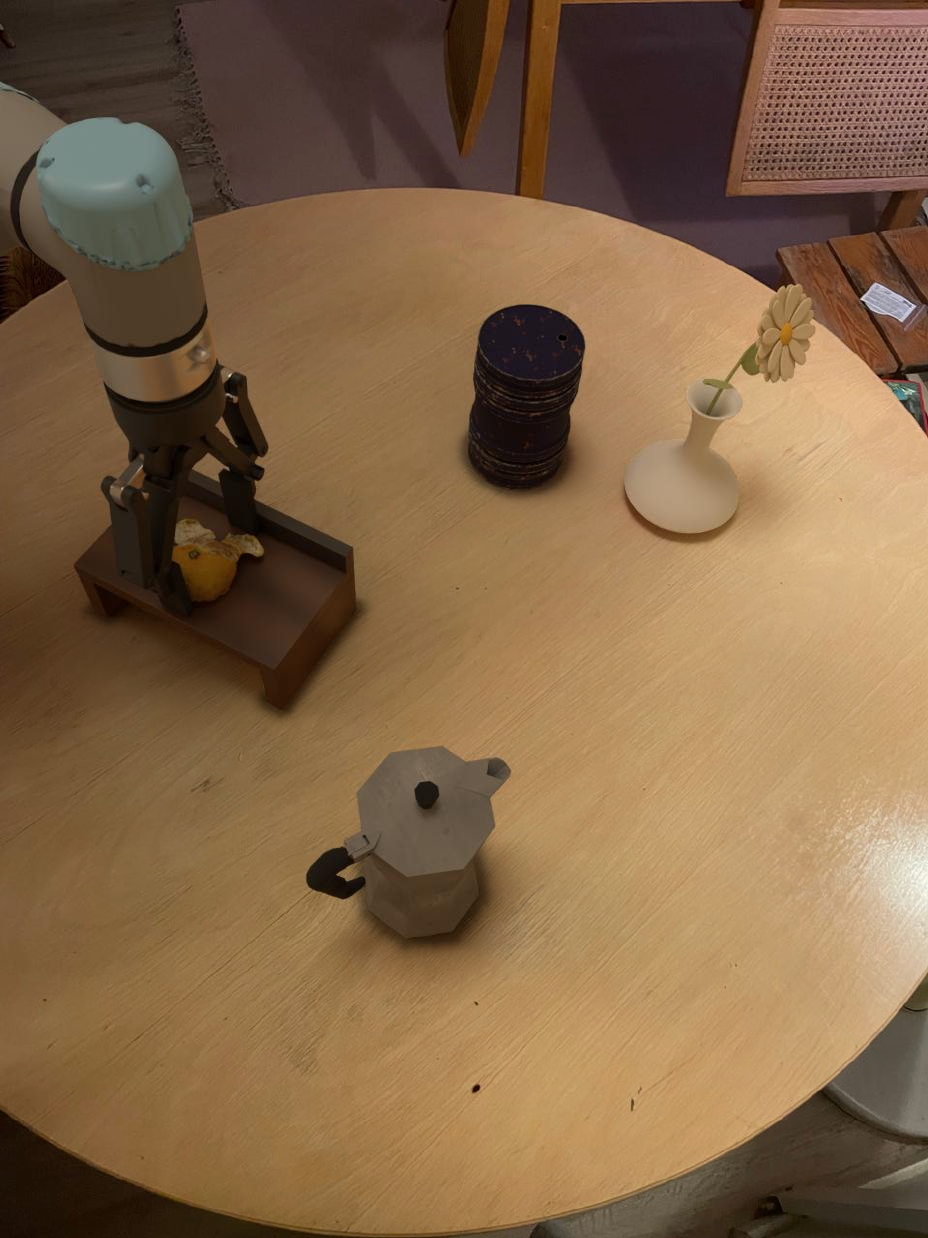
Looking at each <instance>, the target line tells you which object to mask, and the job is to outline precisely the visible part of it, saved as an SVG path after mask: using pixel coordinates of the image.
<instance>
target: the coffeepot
mask: <svg viewBox="0 0 928 1238" xmlns="http://www.w3.org/2000/svg"><path fill="white" fill-rule="evenodd" d="M511 772H512V770H511V768H510V766H509V765H508V763H507V762H506V761H505V760H503V759H502V758H500V757H497V756H495V757H486V758H480V759H475V760H469V761H468V760H467V761H466V760H465V759H463V758H462V757H460V756H458V755H457V754H456V753H454V752H453V751H451V750H450V749H448V748H447V747H445V746H444V745H436V746H429V747H421V748H413V749H406V750H399V751H390V752H389V753H388V754H387V755H386V756H385V758H384V759H383V760H382V761H381V763H379V765H378V766H377V767H376V768H375V769H374V771H373V772H372V773H371V774H370V775H369V777H368V778H367V779H366V781H365V782H364V783H363V784H362V785H361V786H360V788H359V789H358V790H357V791H356V799H357V807H358V808H357V809H358V817H359V824H360V830H359V831H358V832H356V833H354V834H353V835H351V836H349V837H347V838H345V839H343V845H342V846H339V847H333V848H331V849H328V850H326V851H325V852H323V853H322V854H321V855H320V856H319V857H318V858H317V859H316V860H315V861H314V862H313V863H312V864H311V865H310V866H309V868H308V870H307V872H306V874H305V881H306V884H307V887H308V888H309V889H311V890H313V891H315V892H318V893H322V894H324V895H327V896H330V897H334V898H337V899H339V900H347V899H349V898H351V897H352V896H354V895H356V893H358V892H359V891H360V890H361V889H363V888H364V887H365V893H366V902H367V903H366V904H367V911H368V912H370V913H371V914H372V915H374V916H375V917H376V918H377V919H378V920H379V921H381V922H382V923H383V924H385V925H386V926H387V927H389V928H390V929H392V930H393V931H394V932H395V933H398V934H399V935H400V936H401V937H403V938H404V939H412V938H418V937H422V938H423V937H431V936H434V935H439V934H446V933H451V932H453V931H454V930H455V929H456V927H457V926H458V924H459V923H460V922H461V920H462V919H463V918H464V917H465V915H466V914H467V912H468V911H469V909H470V908H471V906H472V905H473V903H474V902H475V901H476V899H477V898H478V896H479V895H480V892H479V885H478V880H477V874H476V868H475V863H474V858H475V857H476V856H477V854H478V852H479V851H480V850H481V848H482V847H483V845H485V843H486V842H487V839H488V838H489V837H490V835H491V834H492V832H493V831H494V829H495V828H496V821H495V815H494V810H493V805H492V800H491V798H492V797H493V796H494V795H495V793H496V792H497V791H499V789H500V788H501V787H502V786H503V785H504V784H505V783H506V782H507V781H508V779H509V778H510V777H511ZM364 860H365V861H364ZM362 861H364V863H363V865H362V868H363V876H358V877H355V878H353V879H350V880H346V878H345V877H343V876H341V875H338V874H339V873H341V872H342V871H345V870H346V869H347V868H348V867H350V866H353V865H355V864H357V863H360V862H362Z"/></svg>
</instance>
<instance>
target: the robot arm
mask: <svg viewBox="0 0 928 1238" xmlns="http://www.w3.org/2000/svg"><path fill="white" fill-rule="evenodd" d="M193 213H194V211H193V207H192V205H191V201H190V197H189V196H188V195H187V194H186V188H185V185H184V183H183V179H182V174H181V171H180V166H179V162H178V158H177V156H176V154H175V152H174V150H173V148H172V147H171V145H170V144H169V143H168V141H167V140H166V138H164V137H163V136H162V135H161V134H160V133H159V132H157V131H156V130H155V129H154V128H151V127H150V126H148V125H145V124H143V123H141V122H138V121H137V122H136V121H134V122H129V123H124V122H122V121H121V120H120V118H117V117H112V116H111V117H107V116H106V117H105V116H102V117H93V118H92V117H91V118H85V119H83V120H80V121H76V122H73V123H70V124H68V123H67V122H65V121H64V120H62V119H61V118H59V117H58V116H57V115H56V114H54V113H53V112H51V111H49V109H48V108H47V107H46V106H44V105H43V104H42V103H41V102H40V101H39V100H37V98H34V97H33V96H31V95H30V94H28V93H26V92H24V91H22V90H19V89H16V88H15V87H13V86H11V85H10V84H6V83H4V82H2V81H0V258H1V257H3V256H4V255H6V254H8V253H9V252H11V251H13V250H14V249H16V248H18V247H21V248H23V250H26V251H27V252H29V253H30V254H31V255H33V256H34V257H36V258H37V259H38V260H40V261H42V262H43V263H46V264H48V265H49V266H50V267H52V268H54V269H55V270H56V271H57V272H59V273H60V274H61V275H62V276H64V278H65V279H66V280H67V281H68V283H69V285H70V287H71V290H72V292H73V295H74V298H75V301H76V304H77V306H78V310H79V312H80V315H81V318H82V322H83V325H84V328H85V332H86V335H87V338H88V341H89V345H90V348H91V352H92V354H93V357H94V361H95V364H96V367H97V370H98V374H99V376H100V379H102V381H103V387H104V390H105V393H106V396H107V399H108V402H109V405H110V409H111V411H112V414H113V417H114V420H115V422H116V424H117V426H118V427H119V429H120V430H121V431H122V433H123V434H124V436H125V437H126V439H127V441H128V454H127V458H128V459H127V460H128V462H129V465H128V466H127V467H126V468H125V469H124V470H123V472H122V473H121V474H120V476H119V477H118V478H116V477H115V476H113V475H111V474H110V475H108V474H107V475H106V476H105V477H104V478H103V479H102V480H101V483H100V491H101V492H102V494H103V496H104V497H105V499H106V501H107V503H108V505H109V514H110V525H111V524H112V532H113V540H114V549H115V557H116V565H117V574H118V576H120V577H122V578H124V579H126V580H127V581H129V582H131V583H133V584H135V585H137V586H139V587H141V588H143V589H145V590H148V589H149V590H150V591H152V592H153V593H155V594H157V595H158V596H159V599H160V602H161V603H162V604H164V605H166V606H168V607H170V608H172V609H174V610H175V611H177V612H179V613H181V614H183V615H185V616H187V617H188V616H189V615H190V614H191V613H192V612H193V607H192V603H191V600H190V597H189V594H188V590H187V587H186V584H185V580H184V577H183V574H182V570H181V567H180V564H178V563H176V562H174V561H172V555H173V547H174V539H175V531H176V523H177V516H178V508H179V500H180V498H182V497H184V496H185V495H186V493H187V485H188V478H189V473H190V471H191V470H192V469H194V467H195V466H196V464H197V463H199V462H200V461H202V460H203V459H204V458H205V457H206V456H207V455H208V454H209V455H211V456H212V457H213V458H214V459H215V460H217V461H218V463H220V464H221V465H223V466H225V467H226V468H225V467H223V468H222V469H221V470H220V471H219V472H218V482H220V485H221V490H222V494H223V499H224V503H225V508H226V512H227V517H228V521H229V524H231V525H233V526H236V527H238V528H240V529H242V530H244V531H246V532H248V533H250V534H252V535H254V536H256V535H257V533H258V532H259V531H260V526H259V521H258V516H257V510H256V505H255V500H256V499H255V496H256V494H257V486H256V482H260V481H261V480H263V477H264V475H265V471H266V470H265V467H263V466H261V465H258V464H257V463H256V461H257V460H258V458H264V457H266V455H267V453H268V452H269V447H270V446H269V443H268V440H267V438H266V436H265V433H264V431H263V429H262V427H261V425H260V422H259V420H258V417H257V415H256V413H255V410H254V408H253V406H252V403H251V401H250V399H249V393H248V390H249V389H248V377H247V376H246V375H245V374H243V373H240V372H238V371H236V370H233V369H231V368H230V367H227V366H225V365H223V364H221V363H220V362H219V358H218V357H217V351H216V345H215V339H214V333H213V329H212V324H211V319H210V313H209V309H208V304H207V303H208V302H207V296H206V290H205V284H204V279H203V271H202V268H201V261H200V256H199V251H198V244H197V238H196V233H195V228H194V227H195V226H194V214H193ZM221 418H222V420H223V422H224V424H225V426H226V428H227V430H228V433H229V434H230V437H231V438H232V441H233V442H234V444H233V443H232V442H231V439H230V438H229V437H227V435H226V434H224V433H223V432H222V431H221V430H220V428H219V427H218V426H216V425H218V423H219V421H220V420H221ZM227 468H228V469H227ZM168 480H169V481H168ZM170 481H172V482H170Z"/></svg>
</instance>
